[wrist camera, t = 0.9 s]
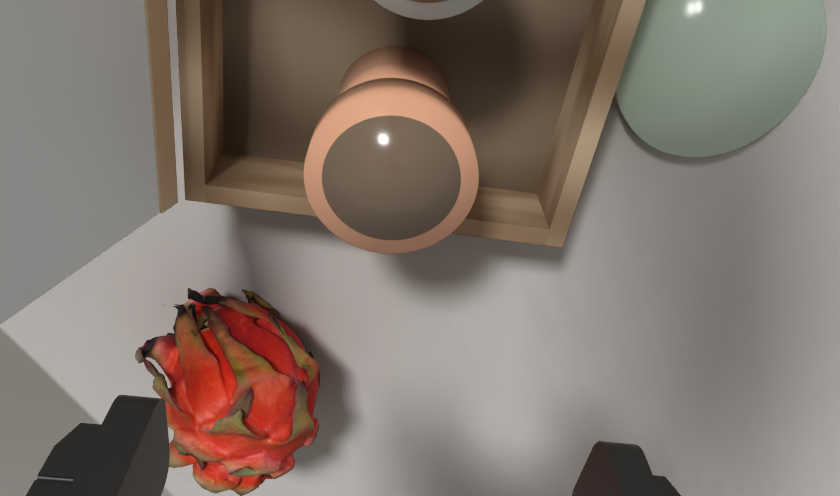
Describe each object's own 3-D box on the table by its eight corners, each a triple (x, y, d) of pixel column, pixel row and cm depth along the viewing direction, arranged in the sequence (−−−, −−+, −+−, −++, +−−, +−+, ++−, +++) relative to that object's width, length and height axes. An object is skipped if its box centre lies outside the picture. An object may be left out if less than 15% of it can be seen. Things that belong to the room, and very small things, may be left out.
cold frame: (-24, -335, 19) (-498, -520, 9) (671, -192, 22) (907, -215, 12) (55, 142, 28) (-144, 320, 18) (547, 207, 30) (619, 397, 20)
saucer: (653, -68, 24) (660, -65, 23) (856, -31, 25) (867, -27, 24) (587, 137, 28) (590, 143, 28) (760, 162, 29) (767, 169, 29)
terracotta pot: (332, 22, 25) (308, 84, 19) (474, 45, 26) (496, 112, 20) (321, 154, 28) (298, 244, 22) (448, 172, 29) (460, 263, 23)
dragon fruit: (275, 405, 40) (224, 232, 35) (378, 450, 35) (335, 256, 30) (156, 499, 34) (74, 306, 29) (260, 569, 29) (183, 351, 24)
